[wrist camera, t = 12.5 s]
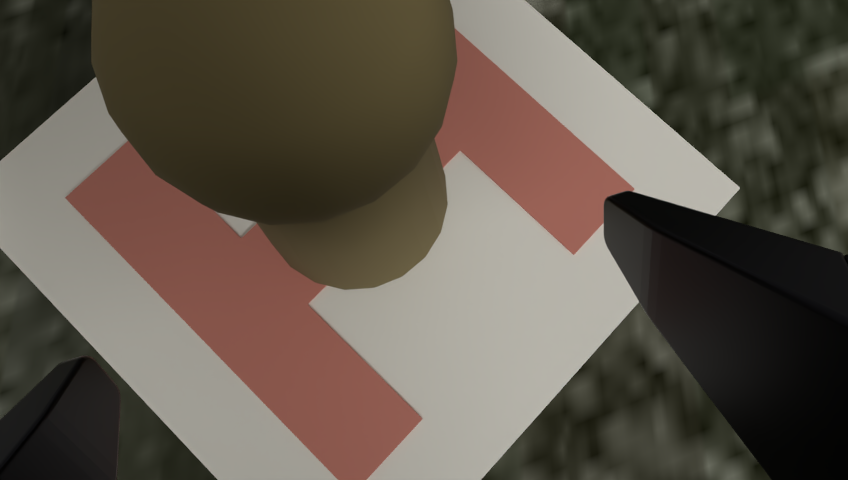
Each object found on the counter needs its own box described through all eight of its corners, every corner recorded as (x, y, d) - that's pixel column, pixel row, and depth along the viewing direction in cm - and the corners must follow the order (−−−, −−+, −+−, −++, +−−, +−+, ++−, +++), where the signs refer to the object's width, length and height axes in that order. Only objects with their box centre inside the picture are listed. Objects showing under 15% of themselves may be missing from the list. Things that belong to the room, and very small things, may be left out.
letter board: (354, 612, 16) (352, 625, 15) (-30, 204, 18) (-48, 199, 17) (729, 192, 18) (742, 187, 18) (354, -136, 20) (352, -152, 19)
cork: (221, 205, 17) (-114, 3, 6) (347, 72, 18) (242, -314, 7) (361, 330, 17) (260, 343, 6) (486, 187, 17) (603, -38, 7)
